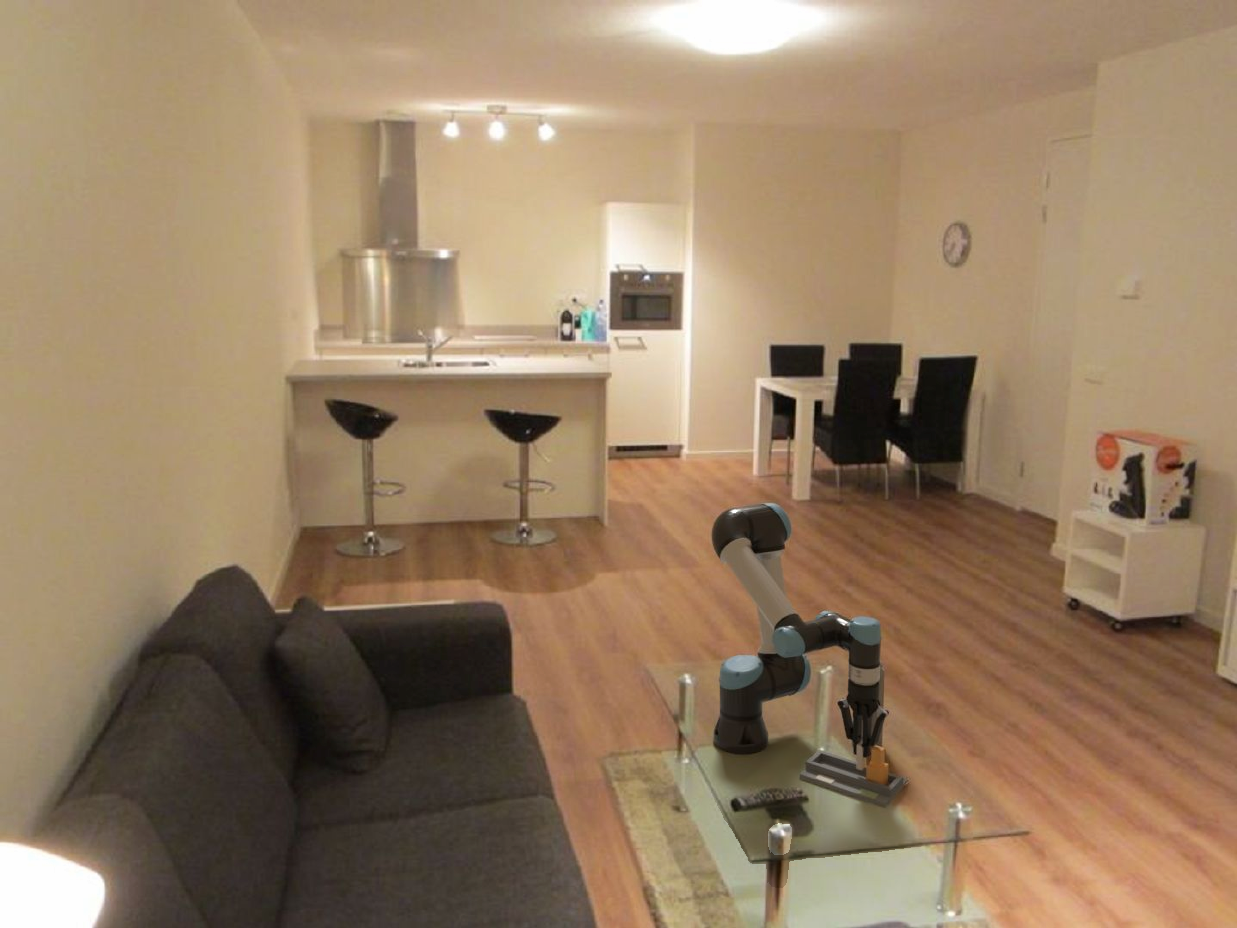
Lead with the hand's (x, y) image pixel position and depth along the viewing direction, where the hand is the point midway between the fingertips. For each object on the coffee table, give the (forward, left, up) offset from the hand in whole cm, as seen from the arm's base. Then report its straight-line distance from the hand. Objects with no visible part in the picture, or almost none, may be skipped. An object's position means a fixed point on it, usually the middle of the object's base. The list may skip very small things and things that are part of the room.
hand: (861, 767), depth 239 cm
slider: (+4, 0, -3) cm, 5 cm away
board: (-2, 0, -4) cm, 5 cm away
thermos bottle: (-7, +19, -5) cm, 21 cm away
